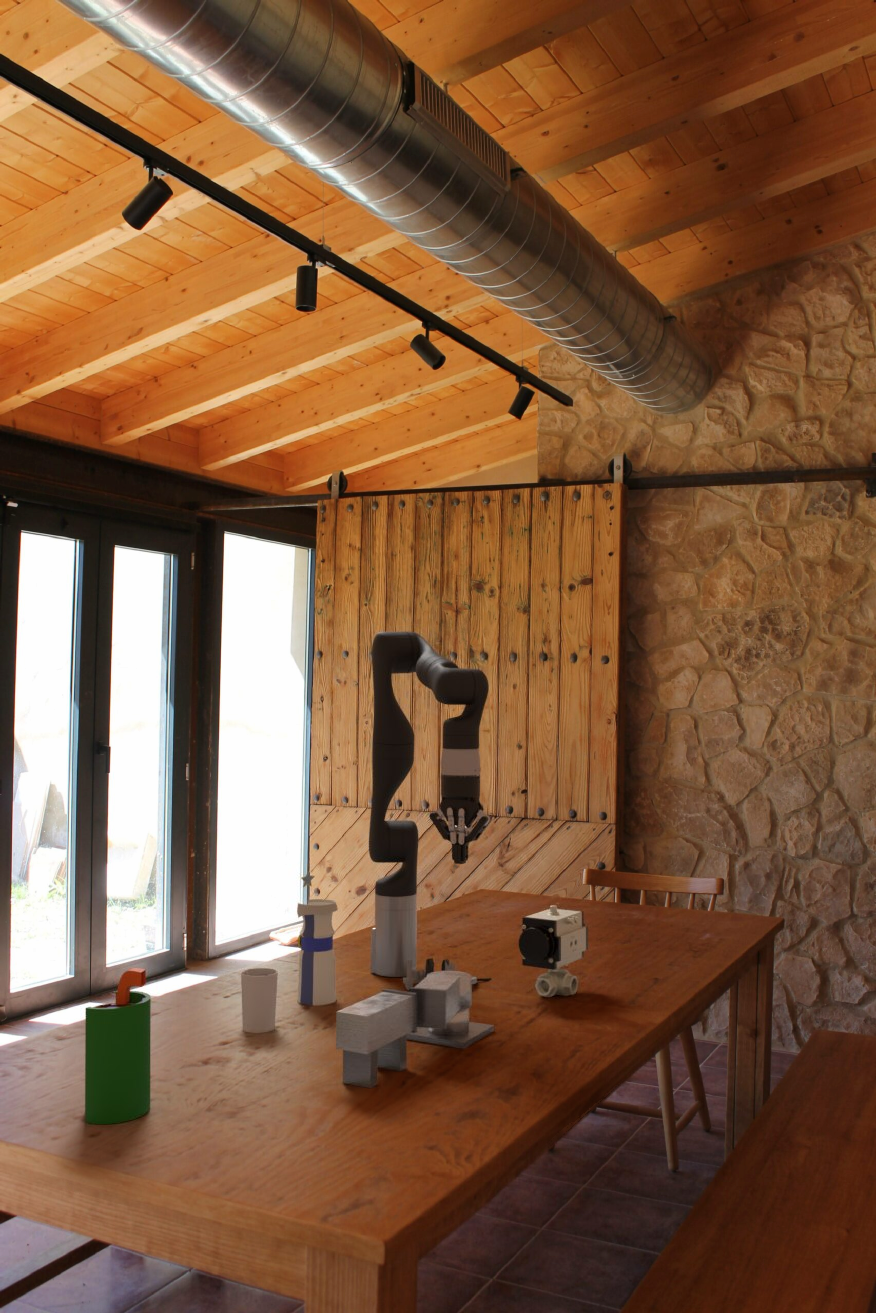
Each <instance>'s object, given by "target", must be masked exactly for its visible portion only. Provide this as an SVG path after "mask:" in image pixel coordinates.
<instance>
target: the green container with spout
mask: <svg viewBox="0 0 876 1313" xmlns="http://www.w3.org/2000/svg"><path fill="white" fill-rule="evenodd" d="M146 974H147V972H146V969H145V968H140V967H132V968H128V970H126V971H125V972H123V973H122V975H121V977H120V979H119V982H118V985H117V990H116V991H115V1002H112V1003H111V1002H109V1003H104V1004H99V1005H95V1006H88V1007H85V1029H84V1030H85V1031H84V1032H85V1033H84V1034H85V1040H84V1041H85V1044H84V1045H85V1052H84V1056H85V1057H84V1058H85V1059H84V1060H85V1061H84V1062H85V1063H84V1064H85V1065H84V1066H85V1068H84V1070H85V1072H84V1077H85V1078H84V1081H85V1082H84V1083H85V1084H84V1123H86V1124H93V1125H109V1124H110V1125H111V1124H112V1125H113V1124H121V1123H125V1122H129V1121H132V1120H135V1119H137V1118H140V1117H143V1116H144V1115H146V1114H147V1113H148V1112H149V1111H150V1110H151V1014H152V1013H151V1006H152V1005H151V1001H152V1000H151V995H150V994H149V993H147V992H143V991H138V990H137V991H136V990H131V986H132V987H137V988H142V987H143V986H145V985H146V980H147V977H146V976H147V975H146Z"/></svg>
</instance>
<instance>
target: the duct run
mask: <svg viewBox="0 0 876 1313" xmlns="http://www.w3.org/2000/svg"><path fill="white" fill-rule="evenodd" d="M335 1013H336V1014H335V1015H336V1017H335V1019H336V1020H335V1021H336V1022H335V1023H336V1024H335V1027H336V1028H335V1029H336V1030H335V1041H336V1042H335V1050H341V1051H342V1084H347V1085H352V1086H357V1087H362V1088H366V1089H367V1088H368V1089H372V1088H374V1087H375V1086H376V1085H378V1069H385V1070H391V1071H397V1072H402V1071H403V1070H405V1069H407V1054H408V1053H407V1049H408V1048H407V1044H408V1043H407V1034H408V1033H410V1032H411V1033H416V1032H417V993H413V992H409V991H406V990H397V989H392V988H391V989H390V988H382V989H381V992H379V993H377V994H375V995H373V996H369V997H367V998H365V999H362V1000H361V1001H357V1002H356V1003H353V1004H352V1005H349V1006H345V1007H344V1008H342V1009H339V1010H337V1011H336V1012H335Z"/></svg>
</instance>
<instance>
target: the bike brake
mask: <svg viewBox="0 0 876 1313" xmlns="http://www.w3.org/2000/svg"><path fill="white" fill-rule="evenodd" d="M412 962H413V960H408V964H407V976H403V977H402V983H403V984H404V987H405V989H406V990H408V991H409V988H410V987H414V984H417V983H418V984H419V983H420V982H421V981H422V980H423V979H424V978H425V977H427V974H429V973H432V972H435V962H434V959H433V957H430V958H427V959H426V960H425V964H424V969H423V970H422V969H420V970H419V969H418V970H417V969H416V970H412ZM440 971H456V963H455V962H450V960H449V959H443V960H442V962H441V970H440ZM491 980H492V977H486V978H484V977H483V978H481V977H480V978H478V977H476V976H471V985H475V984H477V983H478V982H488V981H491Z"/></svg>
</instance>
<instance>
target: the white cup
mask: <svg viewBox="0 0 876 1313" xmlns="http://www.w3.org/2000/svg"><path fill="white" fill-rule="evenodd" d="M278 973H279V972H278V970H277V969H275V968H270V967H256V968H255V967H254V968H247V969H243V970H242V971H241V972H240V978H241V979H240V980H241V981H240V982H241V983H240V984H241V985H240V986H241V1012H242V1013H241V1015H242V1017H241V1018H242V1020H241V1022H242V1031H243V1032H247V1033H251V1034H252V1033H253V1034H260V1033H261V1034H262V1033H268V1032H272V1031H273V1030H275V1026H276V1010H277V993H278Z"/></svg>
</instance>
